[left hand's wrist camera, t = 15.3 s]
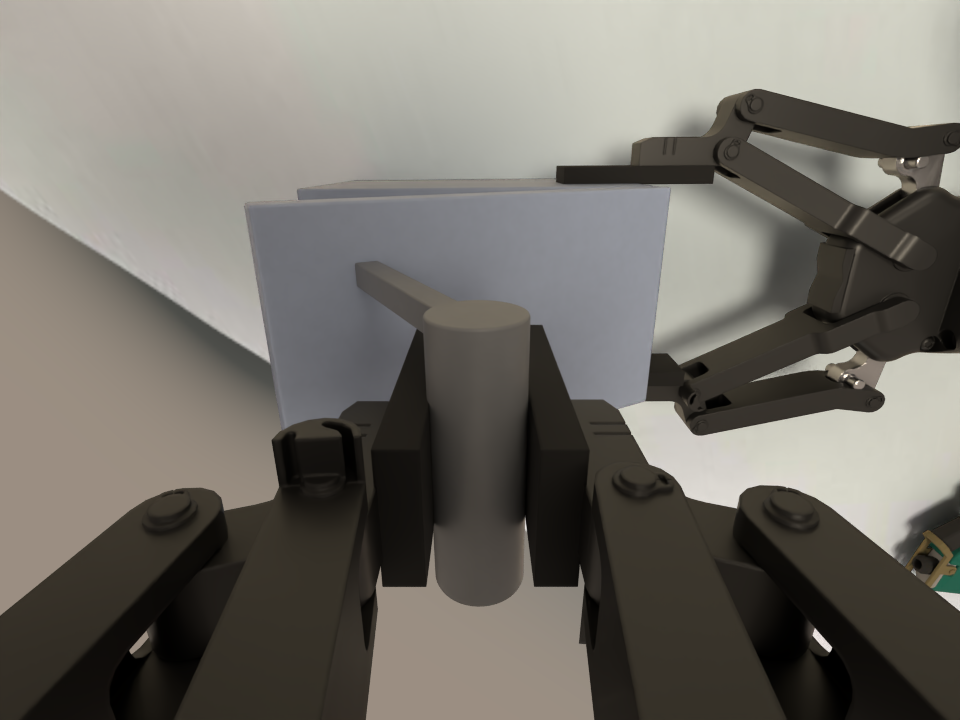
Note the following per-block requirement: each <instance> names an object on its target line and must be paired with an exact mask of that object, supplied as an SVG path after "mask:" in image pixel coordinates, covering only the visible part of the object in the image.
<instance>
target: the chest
mask: <svg viewBox="0 0 960 720" xmlns="http://www.w3.org/2000/svg"><path fill="white" fill-rule="evenodd" d="M638 186H651V185H644V184H561V183H558V182H556V179H463V180H356V181H348V182H342V183H335V184H328V185H321V186H315V187H308V188H301V189H298V190H297V194H298V200H314V199H339V198H364V197H389V196H414V195H438V194H463V193H488V192H513V191H538V190H563V189H588V188H613V187H638Z"/></svg>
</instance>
